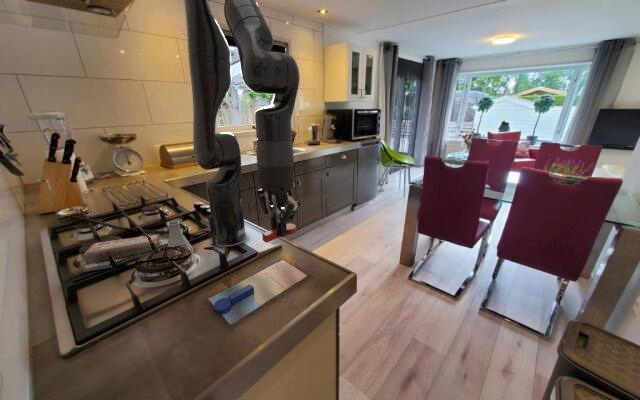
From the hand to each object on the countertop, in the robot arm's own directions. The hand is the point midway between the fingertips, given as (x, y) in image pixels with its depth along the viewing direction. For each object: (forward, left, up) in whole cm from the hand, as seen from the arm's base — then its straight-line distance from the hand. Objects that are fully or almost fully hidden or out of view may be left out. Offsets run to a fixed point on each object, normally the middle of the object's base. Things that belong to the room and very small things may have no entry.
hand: (278, 233), depth 59 cm
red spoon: (0, 0, 0) cm, 0 cm away
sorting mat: (-4, -4, -13) cm, 14 cm away
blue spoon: (-8, -9, -12) cm, 17 cm away
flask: (-31, +10, -13) cm, 35 cm away
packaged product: (-44, +8, -13) cm, 47 cm away
